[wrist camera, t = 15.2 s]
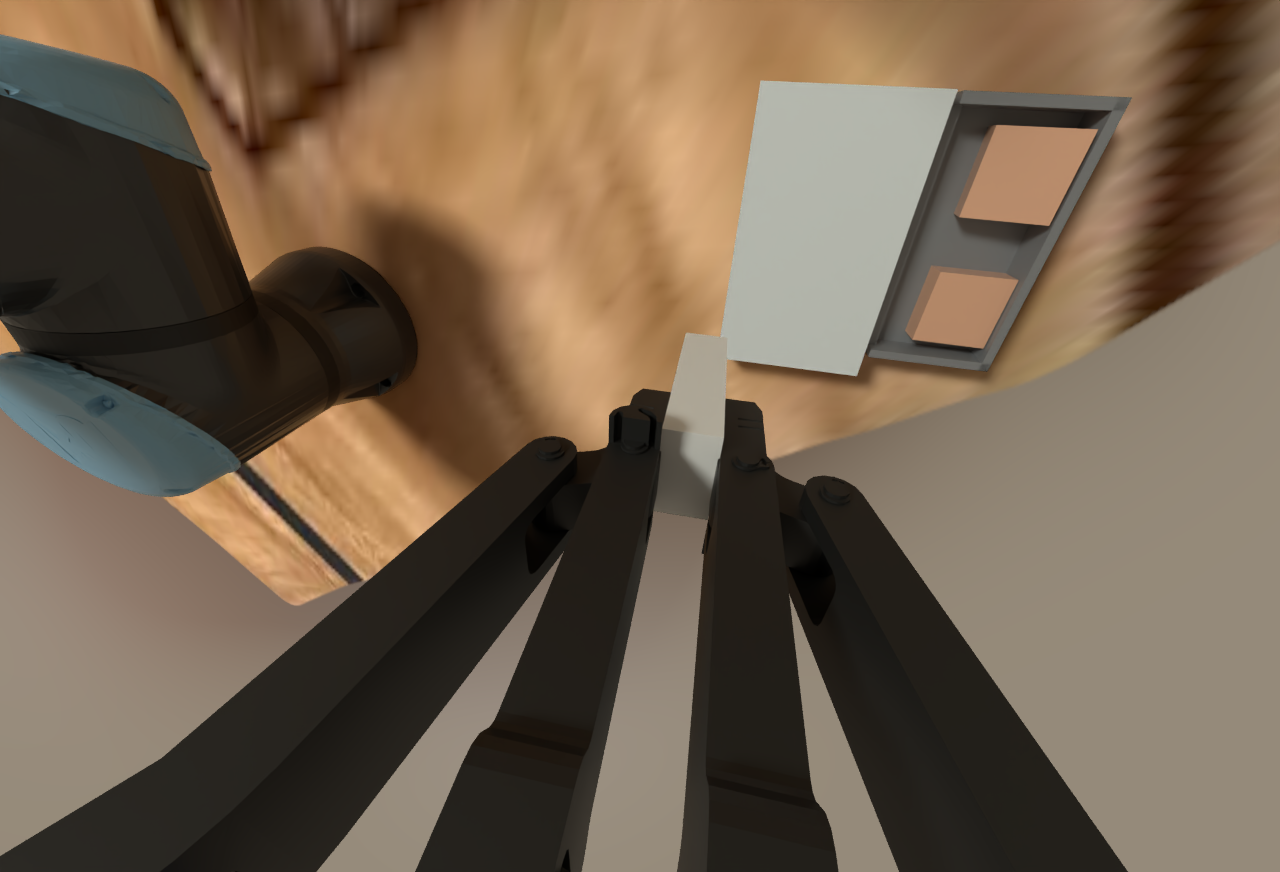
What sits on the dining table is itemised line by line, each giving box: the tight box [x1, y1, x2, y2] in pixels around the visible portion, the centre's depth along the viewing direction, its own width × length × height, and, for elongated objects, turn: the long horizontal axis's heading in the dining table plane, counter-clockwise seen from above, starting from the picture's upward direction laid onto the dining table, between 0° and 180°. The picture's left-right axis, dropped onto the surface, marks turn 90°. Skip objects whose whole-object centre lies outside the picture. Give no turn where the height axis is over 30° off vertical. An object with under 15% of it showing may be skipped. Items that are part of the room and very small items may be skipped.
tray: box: [866, 90, 1132, 372], centre depth 31 cm, size 8×16×3 cm, turn 177°
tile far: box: [905, 265, 1019, 349], centre depth 33 cm, size 5×5×2 cm
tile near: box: [954, 125, 1098, 226], centre depth 28 cm, size 5×5×2 cm
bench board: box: [720, 81, 958, 376], centre depth 33 cm, size 11×18×4 cm, turn 177°
